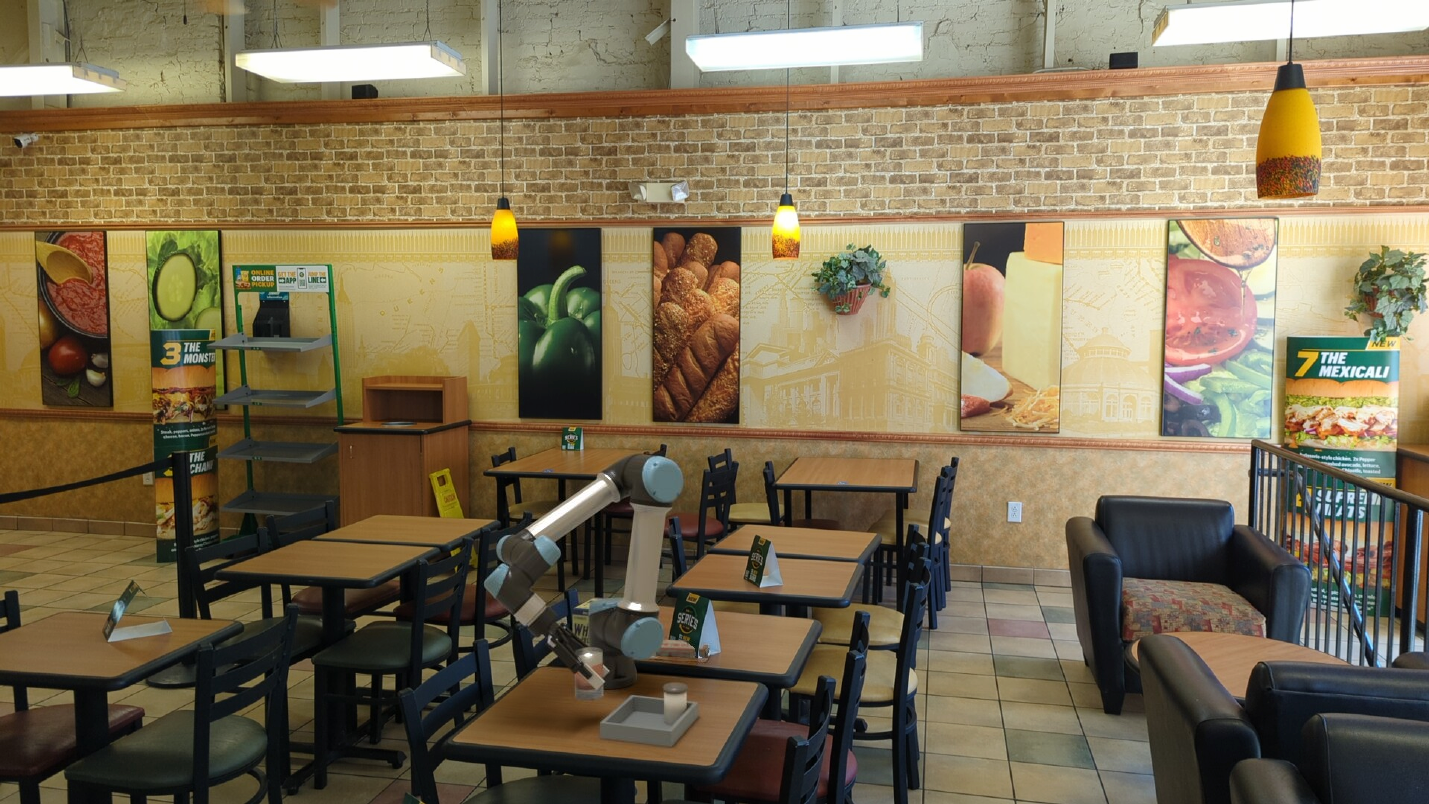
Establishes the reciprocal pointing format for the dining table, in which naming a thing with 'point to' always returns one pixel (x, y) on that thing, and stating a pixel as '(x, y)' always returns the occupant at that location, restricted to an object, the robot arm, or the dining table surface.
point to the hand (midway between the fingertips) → (603, 680)
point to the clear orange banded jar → (595, 662)
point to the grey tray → (646, 722)
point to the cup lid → (675, 688)
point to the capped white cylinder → (674, 707)
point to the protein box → (582, 620)
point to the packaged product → (680, 650)
